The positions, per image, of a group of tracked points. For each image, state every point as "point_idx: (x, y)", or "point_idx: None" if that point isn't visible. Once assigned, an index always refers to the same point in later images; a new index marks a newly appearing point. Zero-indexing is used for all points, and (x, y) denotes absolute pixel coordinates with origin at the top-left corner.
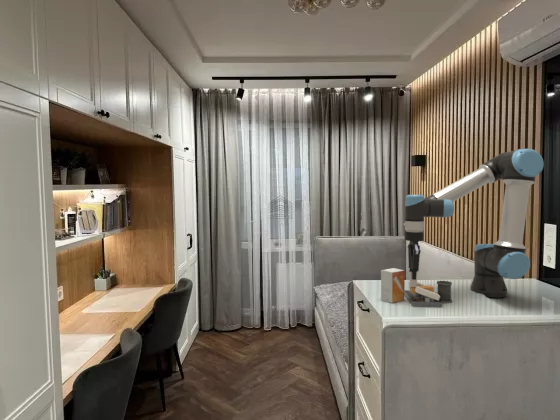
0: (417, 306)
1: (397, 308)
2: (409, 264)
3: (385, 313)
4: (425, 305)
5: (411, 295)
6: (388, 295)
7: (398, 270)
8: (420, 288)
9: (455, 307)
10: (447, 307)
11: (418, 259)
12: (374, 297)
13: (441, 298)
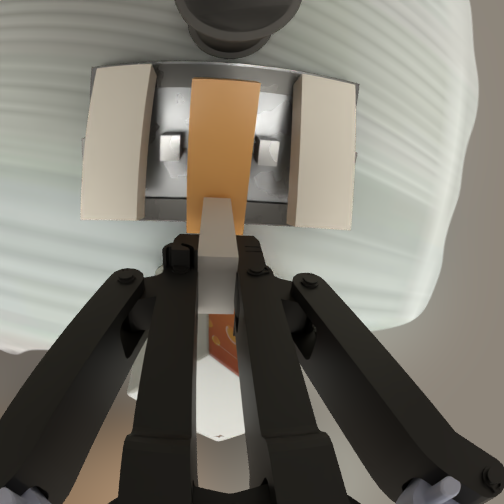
0: None
1: (336, 282)
2: (138, 349)
3: (376, 322)
4: None
5: None
6: None
7: (226, 388)
8: (339, 210)
9: (349, 22)
10: (349, 58)
11: (406, 387)
12: None
13: (258, 41)
